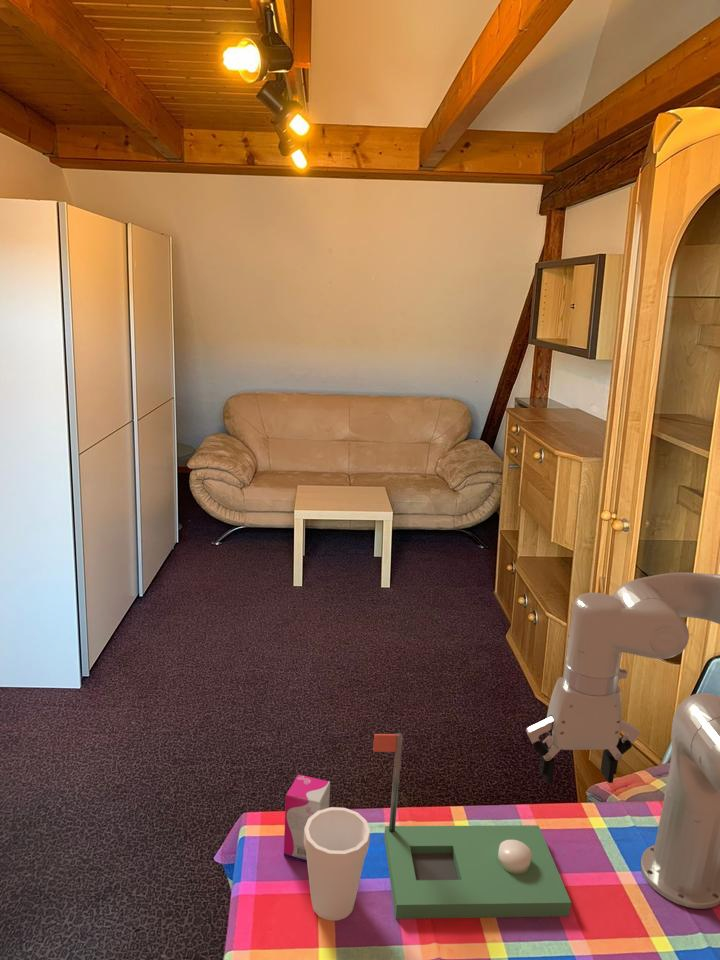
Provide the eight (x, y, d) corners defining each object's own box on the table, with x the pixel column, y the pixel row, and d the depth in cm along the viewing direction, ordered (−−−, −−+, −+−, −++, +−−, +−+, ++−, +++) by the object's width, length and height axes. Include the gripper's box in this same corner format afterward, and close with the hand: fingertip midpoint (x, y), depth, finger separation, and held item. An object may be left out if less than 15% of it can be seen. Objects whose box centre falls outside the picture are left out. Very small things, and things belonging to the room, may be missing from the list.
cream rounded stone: (524, 849, 120) (525, 839, 120) (534, 873, 116) (535, 863, 115) (494, 850, 120) (495, 839, 119) (502, 874, 115) (504, 863, 115)
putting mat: (536, 837, 127) (552, 732, 121) (569, 916, 111) (588, 799, 106) (366, 838, 124) (373, 730, 119) (375, 919, 109) (384, 799, 103)
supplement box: (328, 840, 124) (331, 780, 120) (316, 866, 118) (319, 804, 115) (295, 831, 125) (297, 772, 122) (282, 856, 119) (284, 795, 116)
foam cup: (356, 936, 106) (362, 860, 102) (293, 922, 108) (297, 846, 104) (369, 885, 115) (374, 813, 111) (311, 872, 117) (314, 802, 113)
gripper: (636, 663, 114) (621, 761, 119) (525, 663, 113) (514, 762, 117) (659, 690, 107) (642, 793, 111) (540, 690, 105) (528, 794, 110)
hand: (576, 777), depth 114 cm, fingers open, 9 cm apart
